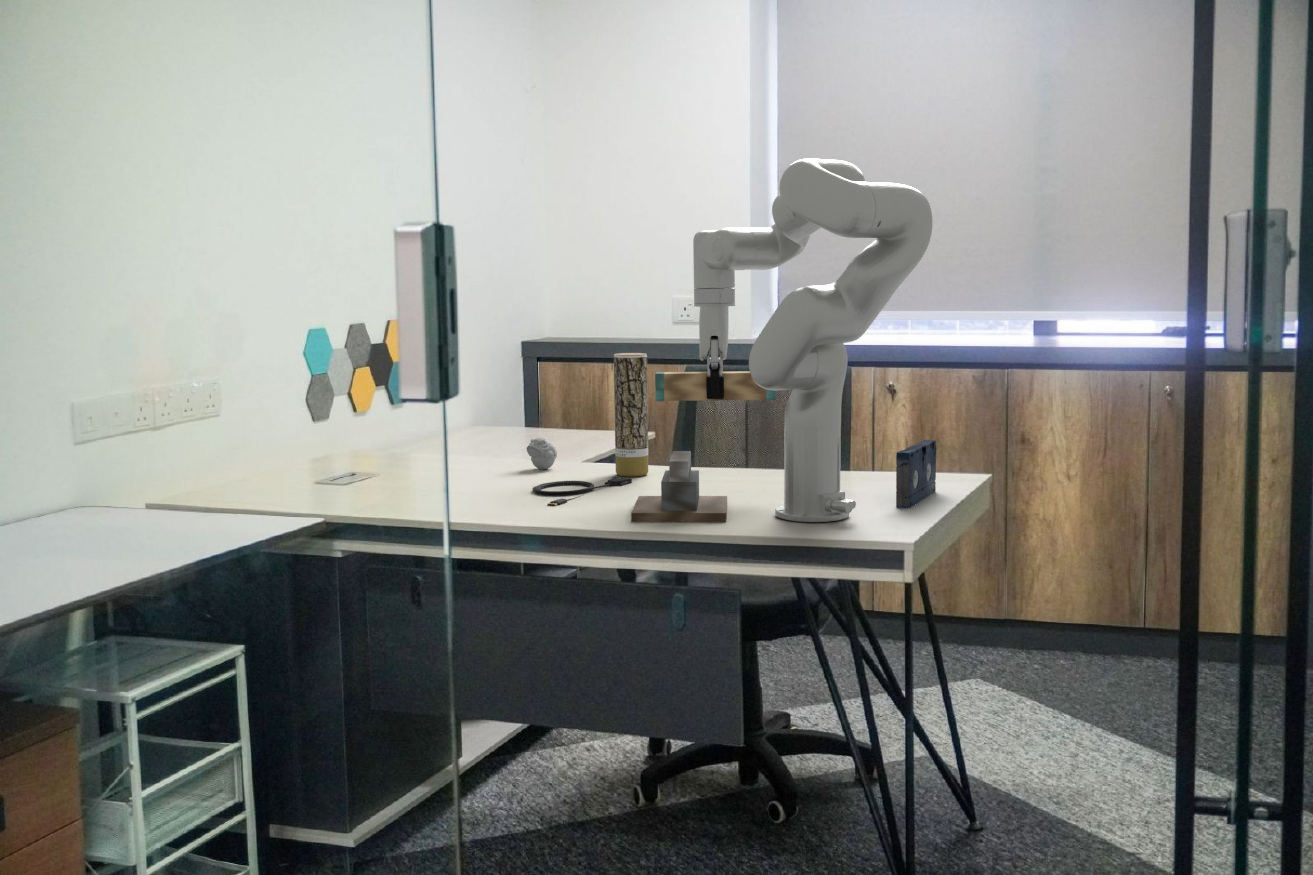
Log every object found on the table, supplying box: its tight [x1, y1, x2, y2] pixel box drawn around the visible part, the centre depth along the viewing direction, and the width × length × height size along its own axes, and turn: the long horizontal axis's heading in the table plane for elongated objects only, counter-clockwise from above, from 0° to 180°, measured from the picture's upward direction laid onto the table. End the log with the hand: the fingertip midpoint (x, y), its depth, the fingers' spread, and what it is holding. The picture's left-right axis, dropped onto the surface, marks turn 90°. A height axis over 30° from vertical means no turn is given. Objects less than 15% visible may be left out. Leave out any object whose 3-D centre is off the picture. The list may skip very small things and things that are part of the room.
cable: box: [532, 476, 633, 507], centre depth 244 cm, size 14×28×2 cm, turn 151°
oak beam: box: [654, 370, 776, 402], centre depth 235 cm, size 22×4×5 cm, turn 86°
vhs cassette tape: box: [895, 439, 937, 509], centre depth 230 cm, size 18×3×10 cm, turn 152°
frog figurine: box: [526, 436, 558, 471], centre depth 270 cm, size 6×7×7 cm
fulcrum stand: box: [630, 450, 728, 523], centre depth 220 cm, size 16×16×10 cm
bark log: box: [613, 352, 649, 478], centre depth 260 cm, size 7×7×25 cm
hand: (715, 396), depth 235 cm, fingers closed on oak beam, 4 cm apart
